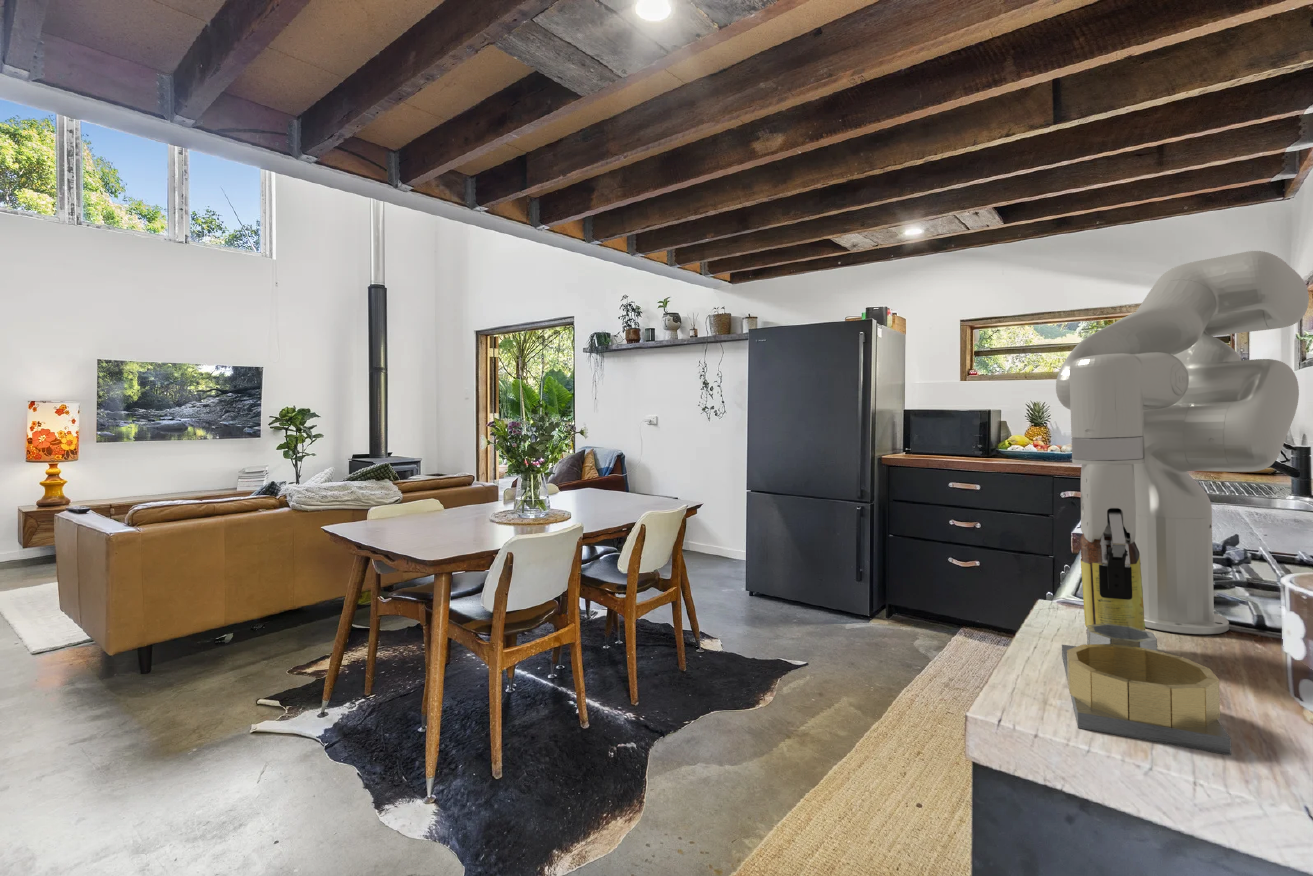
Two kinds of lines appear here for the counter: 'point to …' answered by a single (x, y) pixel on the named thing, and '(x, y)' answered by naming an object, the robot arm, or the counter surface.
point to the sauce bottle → (1110, 608)
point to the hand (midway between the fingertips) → (1111, 589)
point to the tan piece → (1143, 690)
